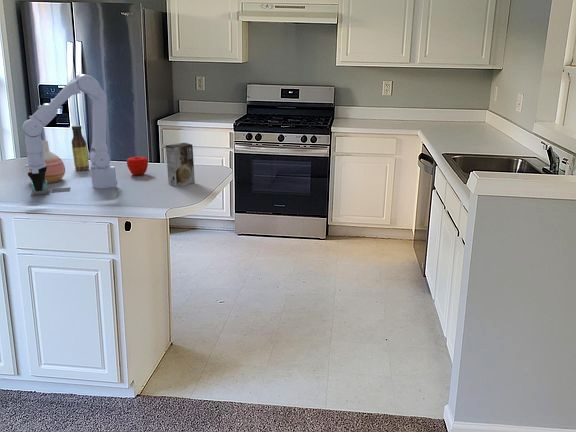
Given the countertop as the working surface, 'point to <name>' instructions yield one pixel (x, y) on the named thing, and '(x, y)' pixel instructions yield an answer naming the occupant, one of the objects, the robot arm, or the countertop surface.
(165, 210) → the countertop surface
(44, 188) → the housing
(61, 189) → the stand
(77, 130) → the sauce bottle
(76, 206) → the countertop surface
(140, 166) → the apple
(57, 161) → the vase
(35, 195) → the stand
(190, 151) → the coffee box
